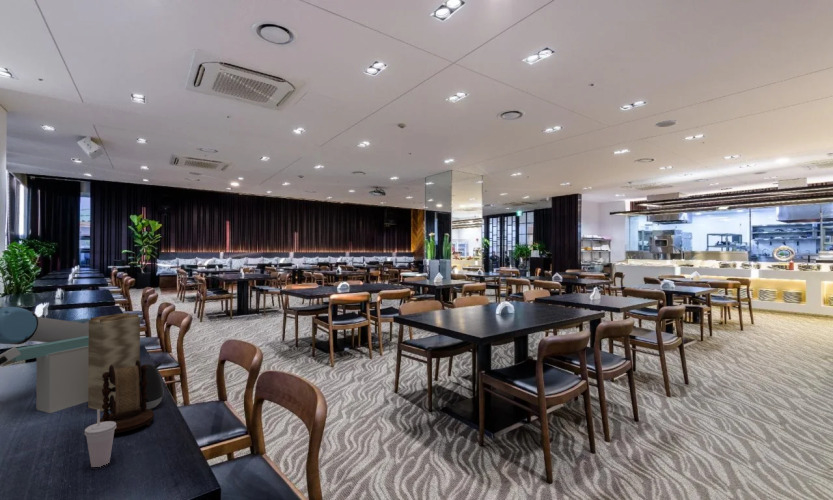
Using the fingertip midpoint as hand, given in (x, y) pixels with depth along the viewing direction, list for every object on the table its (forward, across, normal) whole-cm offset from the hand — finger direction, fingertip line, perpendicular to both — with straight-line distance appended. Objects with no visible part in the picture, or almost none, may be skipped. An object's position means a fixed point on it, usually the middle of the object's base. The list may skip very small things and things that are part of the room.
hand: (7, 348), depth 122 cm
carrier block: (+5, +1, +28) cm, 29 cm away
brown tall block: (+10, -13, +32) cm, 36 cm away
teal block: (+9, 0, +9) cm, 13 cm away
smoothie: (-13, -52, +22) cm, 58 cm away
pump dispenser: (+12, -27, +33) cm, 44 cm away
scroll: (+1, -36, +28) cm, 46 cm away
